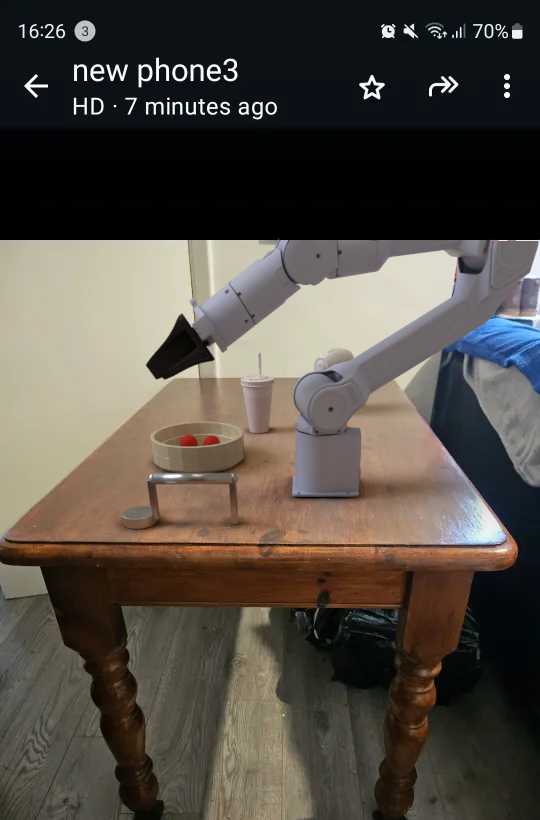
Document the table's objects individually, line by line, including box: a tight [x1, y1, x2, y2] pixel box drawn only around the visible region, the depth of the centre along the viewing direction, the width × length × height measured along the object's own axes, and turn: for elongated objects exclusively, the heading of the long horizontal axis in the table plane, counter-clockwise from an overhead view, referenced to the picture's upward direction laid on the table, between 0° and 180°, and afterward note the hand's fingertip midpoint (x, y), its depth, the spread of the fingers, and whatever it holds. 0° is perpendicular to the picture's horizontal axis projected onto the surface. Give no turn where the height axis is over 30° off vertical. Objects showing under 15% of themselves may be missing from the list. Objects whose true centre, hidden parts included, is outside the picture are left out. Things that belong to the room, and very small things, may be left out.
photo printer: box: [313, 347, 355, 372], centre depth 122 cm, size 10×4×12 cm, turn 138°
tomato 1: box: [180, 435, 198, 447], centre depth 99 cm, size 3×3×3 cm
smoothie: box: [240, 352, 276, 434], centre depth 110 cm, size 6×6×14 cm
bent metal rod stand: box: [121, 472, 239, 530], centre depth 75 cm, size 16×4×7 cm, turn 87°
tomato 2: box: [203, 435, 220, 446], centre depth 99 cm, size 3×3×3 cm
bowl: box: [149, 421, 245, 473], centre depth 97 cm, size 15×15×4 cm
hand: (155, 372), depth 74 cm, fingers open, 7 cm apart
